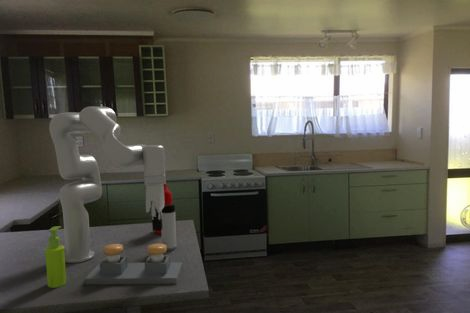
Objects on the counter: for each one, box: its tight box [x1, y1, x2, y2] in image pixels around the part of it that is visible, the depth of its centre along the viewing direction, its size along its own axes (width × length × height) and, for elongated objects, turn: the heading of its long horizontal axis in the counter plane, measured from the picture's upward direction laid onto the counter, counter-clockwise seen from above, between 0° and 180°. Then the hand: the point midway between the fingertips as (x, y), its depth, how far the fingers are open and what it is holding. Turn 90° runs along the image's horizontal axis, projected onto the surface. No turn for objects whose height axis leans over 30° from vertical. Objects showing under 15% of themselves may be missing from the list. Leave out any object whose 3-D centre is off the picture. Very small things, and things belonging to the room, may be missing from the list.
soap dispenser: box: [45, 225, 67, 289], centre depth 127 cm, size 6×7×20 cm
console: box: [84, 254, 183, 285], centre depth 134 cm, size 32×14×6 cm, turn 90°
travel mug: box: [160, 204, 177, 252], centre depth 161 cm, size 6×7×20 cm
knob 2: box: [147, 243, 168, 263], centre depth 133 cm, size 7×7×6 cm
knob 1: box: [102, 243, 124, 263], centre depth 133 cm, size 7×7×6 cm
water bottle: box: [154, 183, 173, 235], centre depth 185 cm, size 9×11×25 cm
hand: (157, 229), depth 132 cm, fingers closed
